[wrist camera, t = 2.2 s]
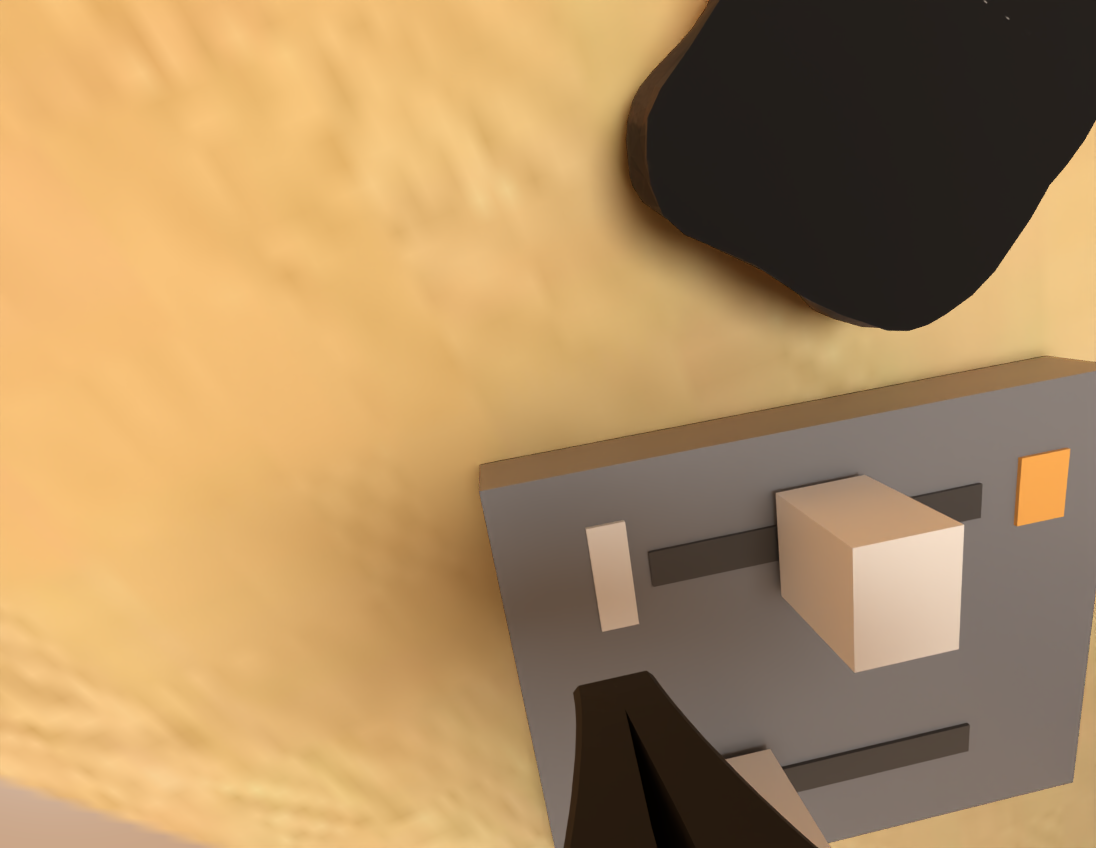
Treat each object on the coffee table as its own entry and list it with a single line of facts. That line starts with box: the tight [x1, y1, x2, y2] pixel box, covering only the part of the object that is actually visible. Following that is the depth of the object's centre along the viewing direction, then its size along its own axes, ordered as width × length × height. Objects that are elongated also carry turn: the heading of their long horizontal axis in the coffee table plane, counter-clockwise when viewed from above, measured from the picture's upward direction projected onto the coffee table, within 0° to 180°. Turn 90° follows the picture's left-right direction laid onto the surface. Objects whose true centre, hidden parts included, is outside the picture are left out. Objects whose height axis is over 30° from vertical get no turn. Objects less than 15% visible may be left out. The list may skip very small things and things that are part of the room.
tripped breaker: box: [776, 475, 964, 673], centre depth 13 cm, size 3×2×3 cm
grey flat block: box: [479, 356, 1096, 848], centre depth 16 cm, size 14×17×2 cm
